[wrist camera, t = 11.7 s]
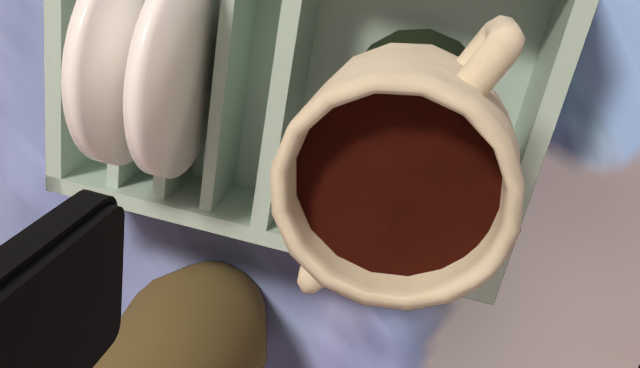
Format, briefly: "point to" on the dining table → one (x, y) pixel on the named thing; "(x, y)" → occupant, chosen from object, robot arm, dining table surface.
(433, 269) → the character mug
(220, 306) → the squeeze bottle
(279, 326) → the dining table surface
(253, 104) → the dish rack
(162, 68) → the racked plates
